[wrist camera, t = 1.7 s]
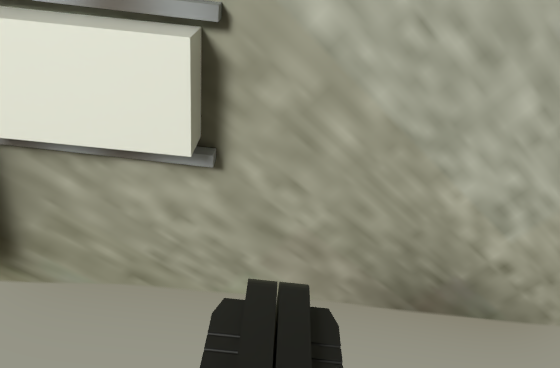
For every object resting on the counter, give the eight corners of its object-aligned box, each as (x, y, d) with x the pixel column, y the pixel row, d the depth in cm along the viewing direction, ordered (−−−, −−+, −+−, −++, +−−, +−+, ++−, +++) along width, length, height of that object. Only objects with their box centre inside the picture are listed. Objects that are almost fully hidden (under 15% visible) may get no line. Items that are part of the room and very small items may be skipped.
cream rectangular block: (202, 25, 24) (190, 37, 22) (202, 134, 27) (191, 156, 25) (-19, 2, 24) (-61, 11, 21) (5, 114, 27) (-28, 135, 25)
